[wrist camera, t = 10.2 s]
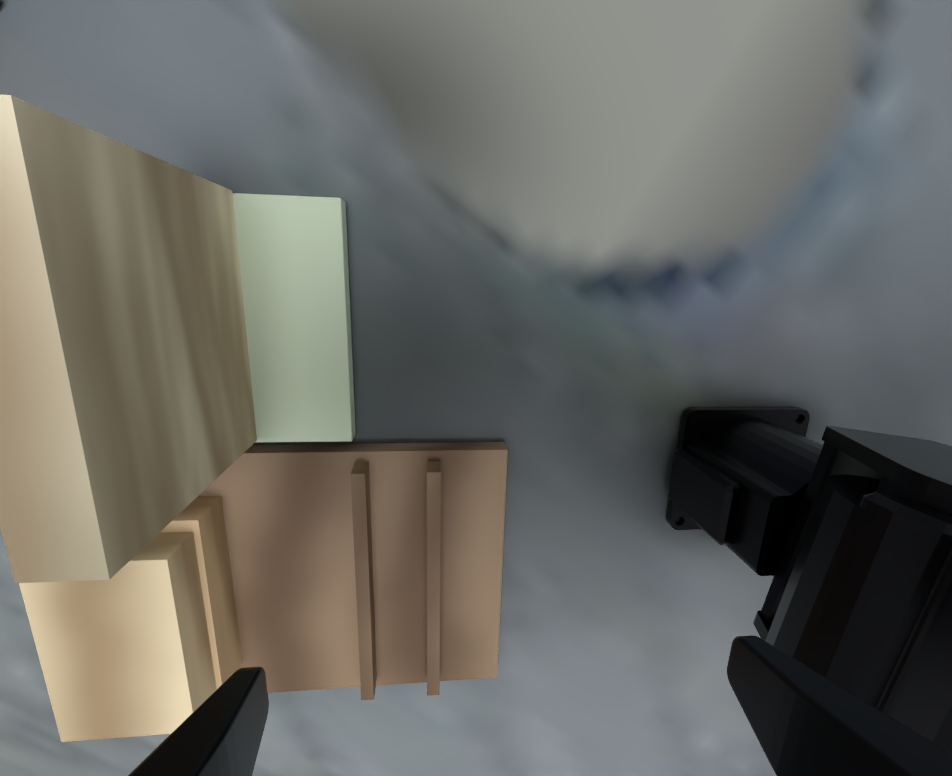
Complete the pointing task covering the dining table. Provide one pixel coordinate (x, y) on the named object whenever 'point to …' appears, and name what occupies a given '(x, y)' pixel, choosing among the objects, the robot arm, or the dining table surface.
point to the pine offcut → (125, 644)
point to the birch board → (110, 345)
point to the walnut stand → (366, 561)
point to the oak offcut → (214, 580)
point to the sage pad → (297, 316)
